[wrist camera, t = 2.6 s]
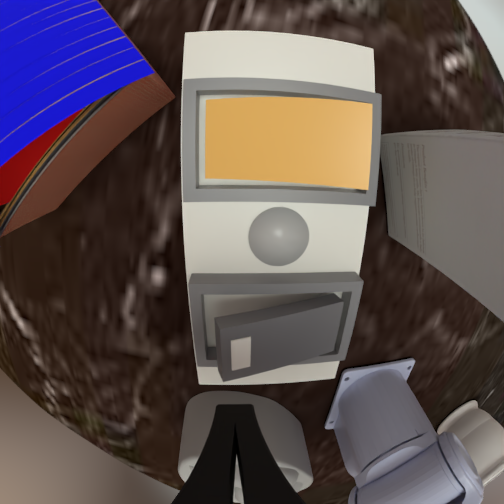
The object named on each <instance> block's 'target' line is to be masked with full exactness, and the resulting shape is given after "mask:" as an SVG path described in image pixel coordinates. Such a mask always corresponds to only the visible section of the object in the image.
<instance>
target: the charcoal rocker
mask: <svg viewBox="0 0 504 504" xmlns="http://www.w3.org/2000/svg"><path fill="white" fill-rule="evenodd" d="M343 304H344V301H343V300H342V299H341V298H339V297H338V296H337V295H336V294H334V293H332V294H328V295H324V296H319V297H315V298H311V299H306V300H302V301H297V302H292V303H288V304H283V305H278V306H273V307H268V308H263V309H258V310H253V311H248V312H242V313H237V314H231V315H226V316H220V317H214V322H215V338H216V353H217V366H218V372H219V374H220V376H221V379H222V381H223V382H226V381H230V380H235V379H239V378H243V377H247V376H251V375H255V374H259V373H263V372H267V371H270V370H274V369H277V368H281V367H284V366H288V365H291V364H295V363H298V362H301V361H304V360H307V359H311V358H314V357H317V356H320V355H323V354H326V353H329V352H331V351H333V350H334V346H335V342H336V338H337V333H338V329H339V324H340V319H341V314H342V309H343Z"/></svg>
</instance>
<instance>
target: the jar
mask: <svg viewBox="0 0 504 504" xmlns="http://www.w3.org/2000/svg"><path fill="white" fill-rule="evenodd" d="M442 432H447V433H448V432H452V433H454V434H455V435H456V436H457V437H458V438H459V440H460V441H461V442H462V444H463V445H464V447H465V448H466V450H467V452H468V453H469V455H470V457H471V459H472V460H473V462H474V464H475V467H476V469H477V471H478V474H479V476H480V478H481V480H482V482H483V486H484V487H485V486H486V485H487V484H488V483H490V482H491V481H493V480H494V479H495V478H496V477H498V476H499V475H500V474H501V473H502V472H504V429H503V427H502V426H501V425H500V424H499V423H498V422H497V421H496V420H494V419H493V418H492V416H490V415H489V414H488V413H487V412H485V411H483V410H481V409H478V403H477V401H476V400H472V401H469V402H467V403H465V404H463V405H461V406H460V407H458V408H457V409H456V410H454V411H453V412H452V413H451V414H450V415H449V416H448V417H447V418H446V419H445V420H444V421H443V422H442V423H441V424H440V426H439V427H438V430H437V433H438V434H439V435H440V434H441V433H442Z"/></svg>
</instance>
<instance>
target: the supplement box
mask: <svg viewBox="0 0 504 504" xmlns="http://www.w3.org/2000/svg"><path fill="white" fill-rule="evenodd" d="M380 157H381V163H382V171H383V179H384V187H385V197H386V208H387V220H388V235H389V236H390V237H392V238H394V239H395V240H397V241H398V242H399V243H401V244H402V245H404V246H405V247H407V248H408V249H410V250H411V251H413V252H414V253H416V254H417V255H418V256H420V257H421V258H423V259H424V260H426V261H427V262H428V263H430V264H431V265H432V266H434V267H435V268H437V269H438V270H439V271H441V272H442V273H443V274H445V275H446V276H447V277H449V278H450V279H451V280H453V281H454V282H455V283H457V284H458V285H459V286H461V287H462V288H463V289H464V290H466V291H467V292H468V293H470V294H471V295H472V296H473V297H475V298H476V299H477V300H478V301H479V302H481V303H482V304H483V305H484V306H485V307H487V308H488V309H489V310H490V311H492V312H493V313H494V314H495V315H496V316H497V317H498V318H500V319H501V320H502V321H503V322H504V133H495V132H485V131H474V130H457V129H455V130H424V131H411V132H400V133H390V134H383V135H381V140H380Z"/></svg>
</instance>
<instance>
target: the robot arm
mask: <svg viewBox="0 0 504 504" xmlns="http://www.w3.org/2000/svg"><path fill="white" fill-rule="evenodd" d="M414 363H415V360H414V359H413V358H409V359H404V360H399V361H394V362H389V363H383V364H377V365H371V366H365V367H358V368H351V369H346V370H344V371H343V372H342V375H341V378H340V381H339V384H338V387H337V391H336V394H335V397H334V400H333V403H332V405H331V408H330V411H329V414H328V417H327V420H326V422H325V425H324V427H325V429H333V428H334V431H335V435H336V438H337V441H338V444H339V447H340V451H341V454H342V457H343V461H344V464H345V467H346V469H347V471H348V472H349V473H350V474H351V475H352V476H353V477H354V478H355V481H356V485H357V486H355V487H354V488H353V489H352V490H351V492H350V495H349V500H348V504H481V502H482V500H483V492H484V486H483V482H482V480H481V478H480V476H479V474H478V471H477V469H476V467H475V464H474V462H473V460H472V459H471V457H470V455H469V453H468V452H467V450H466V448H465V447H464V445H463V444H462V442H461V441H460V440H459V438H458V437H457V436H456V435H455V434H454V433H452V432H448V433H447V432H442V433H441V434H440V435H438V434H437V433H436V432H435V430H434V428H433V426H432V425H431V423H430V421H429V419H428V418H427V416H426V414H425V413H424V411H423V409H422V407H421V406H420V404H419V402H418V401H417V399H416V397H415V396H414V394H413V392H412V391H411V389H410V387H409V386H408V384H407V382H406V380H407V378H408V376H409V374H410V372H411V370H412V368H413V366H414ZM236 454H237V460H238V467H239V474H240V480H241V487H242V493H243V500H244V504H306V503H305V502H304V501H303V500H302V499H301V497H300V496H299V495H298V494H297V492H296V491H295V490H294V488H293V487H292V486H291V484H290V483H289V482H288V480H287V479H286V477H285V476H284V474H283V473H282V471H281V469H280V468H279V466H278V464H277V463H276V461H275V459H274V457H273V455H272V454H271V452H270V450H269V447H268V445H267V443H266V441H265V439H264V437H263V434H262V432H261V429H260V427H259V424H258V421H257V418H256V414H255V410H254V405H252V404H218V405H217V406H216V409H215V414H214V419H213V422H212V426H211V429H210V432H209V435H208V437H207V440H206V442H205V445H204V447H203V450H202V452H201V454H200V456H199V458H198V460H197V462H196V464H195V466H194V468H193V470H192V472H191V474H190V476H189V477H188V479H187V481H186V482H185V484H184V486H183V487H182V489H181V490H180V492H179V493H178V495H177V496H176V498H175V499H174V501H173V502H172V503H171V504H233V496H234V482H235V468H236Z"/></svg>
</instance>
